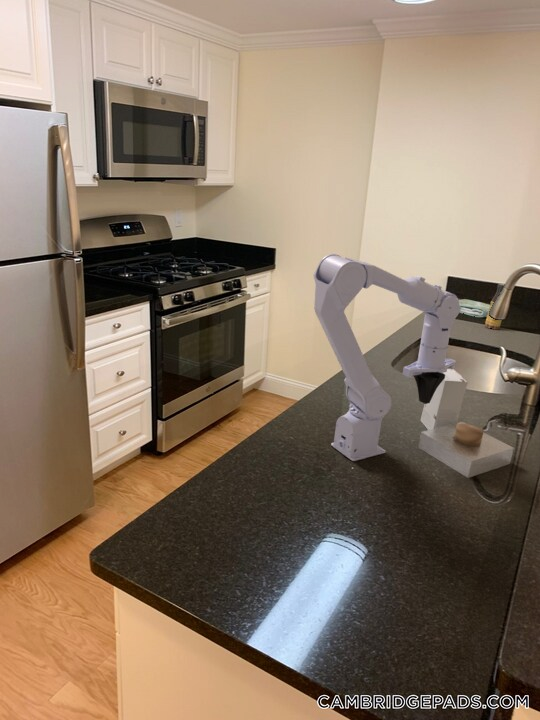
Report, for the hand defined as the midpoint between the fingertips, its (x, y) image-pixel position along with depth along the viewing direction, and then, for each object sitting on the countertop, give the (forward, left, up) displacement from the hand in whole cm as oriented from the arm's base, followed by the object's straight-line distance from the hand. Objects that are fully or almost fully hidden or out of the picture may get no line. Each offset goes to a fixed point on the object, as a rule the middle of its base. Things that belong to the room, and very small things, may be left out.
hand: (424, 401), depth 120 cm
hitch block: (+6, -9, -10) cm, 15 cm away
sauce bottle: (+116, +66, -11) cm, 134 cm away
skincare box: (+11, +3, -11) cm, 15 cm away
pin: (+6, -9, -10) cm, 15 cm away
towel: (+134, +90, -11) cm, 162 cm away
